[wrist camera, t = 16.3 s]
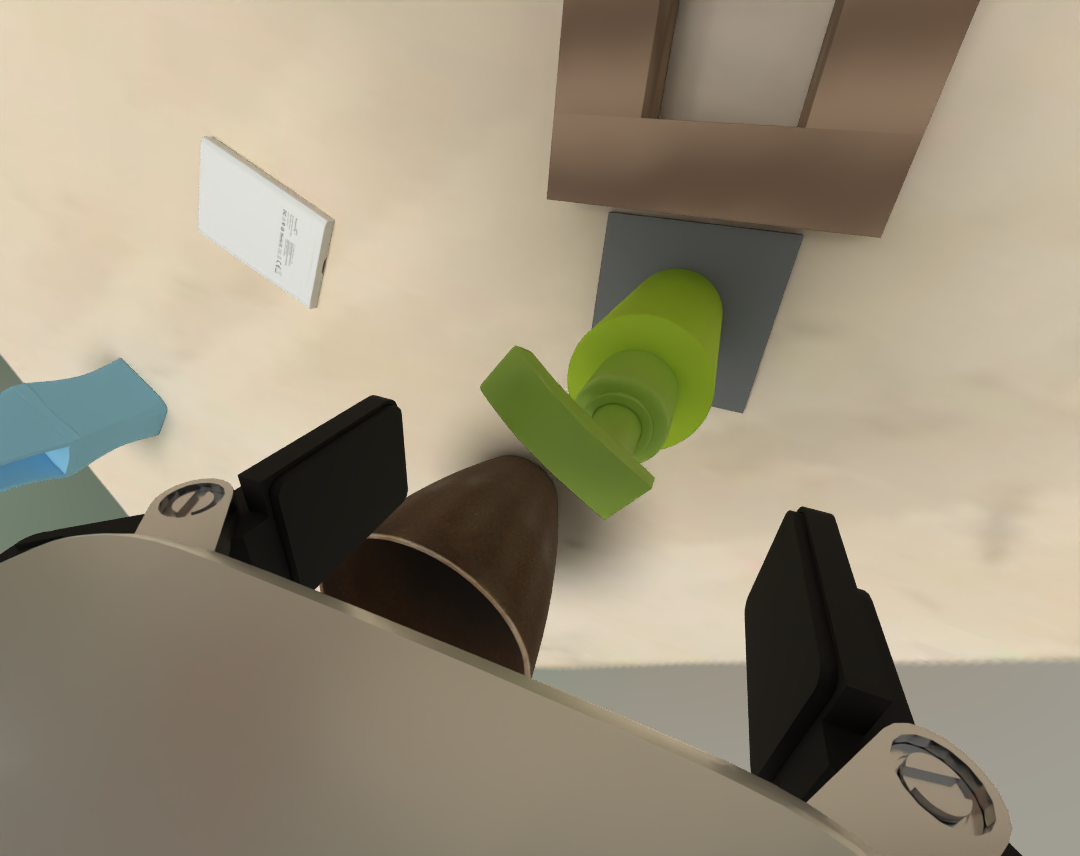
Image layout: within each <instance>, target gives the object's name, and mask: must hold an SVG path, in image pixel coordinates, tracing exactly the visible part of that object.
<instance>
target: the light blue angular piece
mask: <svg viewBox="0 0 1080 856" xmlns="http://www.w3.org/2000/svg"><path fill="white" fill-rule="evenodd" d="M166 413H167V407H166V405H165V403H164V402H163V400H162V399H161V398H160V397H159V396H158V395H157V394H156V393H155V392H154V391H153V390H152V389H151V388H150V387H149V386H148V385H147V384H146V383H145V382H144V381H143V380H142V379H141V378H140V377H139V376H138V375H137V374H136V373H135V372H134V371H133V370H132V369H131V368H130V367H129V366H128V365H127V364H126V363H125V362H124V361H123V360H122V359H121V358H119V359H118V360H116V361H114V362H112V363H110V364H108V365H106V366H104V367H102V368H100V369H98V370H96V371H93V372H91V373H88V374H85V375H82V376H78V377H73V378H69V379H63V380H56V381H46V382H34V383H23V384H19V385H15V386H12V387H10V388H8V389H7V390H5V391H3V392H2V393H0V493H1V492H3V491H7V490H9V489H13V488H15V487H19V486H23V485H27V484H31V483H36V482H42V481H48V480H54V479H62V478H66V477H69V476H71V475H74V474H76V473H77V472H79V471H80V470H81V469H83V468H84V467H86V466H87V465H89V464H90V463H92V462H93V461H95V460H96V459H98V458H100V457H101V456H103V455H105V454H106V453H108V452H110V451H112V450H114V449H116V448H118V447H120V446H122V445H125V444H127V443H130V442H134V441H137V440H140V439H144V438H148V437H152V436H156V435H158V434H159V432H160V430H161V427H162V424H163V421H164V418H165V416H166Z"/></svg>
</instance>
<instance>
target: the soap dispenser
mask: <svg viewBox="0 0 1080 856" xmlns="http://www.w3.org/2000/svg"><path fill="white" fill-rule="evenodd" d="M722 315H723V311H722V303H721V299H720V296H719V294H718V292H717V290H716V289H715V287H714V286H713V285H712V283H711V282H710V281H709V280H707V279H706V278H705V277H704V276H702V275H700V274H699V273H696V272H694V271H691V270H687V269H679V268H675V269H667V270H663V271H660V272H658V273H655V274H653V275H652V276H650V277H648V278H647V279H646V280H645V281H643V282H642V283H641V284H640V285H639V286H638V287H637V288H636V289H635V290H634V291H633V292H631V293H630V294H629V295H628V296H627V297H626V298H625V299H624V300H623V301H622V302H621V303H620V304H618V305H617V306H616V307H615V308H614V309H613V310H612V311H611V312H610V313H609V314H608V315H607V316H605V317H604V318H603V319H602V320H601V321H600V322H599V323H598V324H597V325H596V326H595V327H593V328H592V329H591V330H590V331H589V332H588V333H587V334H586V335H585V336H584V337H583V338H582V340H581V341H580V342H579V344H578V345H577V347H576V349H575V351H574V353H573V355H572V357H571V360H570V364H569V368H568V379H567V380H568V391H569V395H568V394H567V393H566V392H565V391H564V389H563V388H562V387H561V386H560V385H559V384H558V383H557V382H556V381H555V380H554V378H553V377H552V376H551V375H550V374H549V373H548V371H547V370H546V369H545V368H544V367H543V365H542V364H541V363H540V362H539V360H538V359H537V358H536V357H535V356H534V354H533V353H532V352H531V351H529V350H526V349H524V348H522V347H519V346H514V347H513V348H512V349H511V351H510V352H509V353H508V354H507V355H506V356H505V357H504V359H503V360H502V361H501V362H500V363H499V364H498V365H497V367H496V368H495V369H494V370H493V371H492V372H491V374H490V375H489V376H488V377H487V378H486V380H485V381H484V382H483V383H482V384H481V386H480V389H481V391H482V392H483V394H484V396H485V397H486V398H487V400H488V401H489V403H490V404H491V405H492V407H493V408H494V409H495V411H496V412H497V413H498V415H499V416H500V417H501V418H502V420H503V421H504V422H505V424H506V425H507V426H508V427H509V428H510V430H511V431H512V432H513V433H514V434H515V436H516V437H517V438H518V439H519V440H520V441H521V442H522V444H523V445H524V446H525V447H526V448H527V449H528V450H529V451H530V452H531V453H532V454H533V455H534V456H535V457H536V458H537V459H538V460H539V461H540V462H541V463H542V464H543V465H544V466H545V467H546V468H547V469H548V470H549V471H550V472H551V473H552V474H553V475H554V476H555V477H556V478H557V479H559V480H560V481H561V482H562V483H563V484H564V485H565V486H566V487H567V488H568V489H570V490H571V491H572V492H573V493H574V494H575V495H576V496H577V497H579V498H580V499H581V500H582V501H583V502H584V503H585V504H587V505H588V506H589V507H590V508H591V509H592V510H593V511H595V512H596V513H597V514H598V515H599V516H600V517H601V518H603V519H604V520H605V519H607V518H608V517H610V516H611V515H613V514H614V513H616V512H617V511H619V510H620V509H622V508H623V507H625V506H626V505H628V504H629V503H631V502H632V501H634V500H635V499H637V498H638V497H640V496H641V495H643V494H644V493H646V492H647V491H649V490H650V489H651V488H652V486H653V482H654V477H653V476H652V475H651V474H650V473H649V472H648V471H647V470H646V469H645V468H644V467H643V466H642V465H641V464H640V463H642V462H645V461H647V460H649V459H650V458H652V457H653V456H654V455H655V454H656V453H657V452H658V451H659V450H661V449H665V448H668V447H671V446H673V445H676V444H678V443H679V442H681V441H683V440H685V439H686V438H687V437H689V436H690V435H691V434H692V433H694V432H695V431H696V430H697V429H698V427H699V426H700V425H701V424H702V422H703V421H704V419H705V418H706V416H707V414H708V412H709V410H710V407H711V405H712V401H713V397H714V390H715V380H716V371H717V362H718V353H719V343H720V334H721V325H722Z"/></svg>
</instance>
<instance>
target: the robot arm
mask: <svg viewBox="0 0 1080 856" xmlns="http://www.w3.org/2000/svg"><path fill="white" fill-rule="evenodd" d="M238 478H239V481H240V484H241V487H239V488H237V489H236V490H234V489H233V487H232V486H231V484H230V483H228V482H226V481H224V480H220V479H213V478H211V479H198V480H193V481H188V482H185V483H182V484H179V485H176V486H174V487H172V488H170V489H168V490H166V491H164V492H163V493H162V494H160V495H159V496H158V497H156V498H155V499H154V501H153V502H152V503H151V504H150V506H149V508H148V510H147V511H146V513H145V514H142V515H136V516H130V517H125V518H119V519H114V520H108V521H103V522H97V523H91V524H86V525H80V526H75V527H69V528H64V529H58V530H54V531H48V532H42V533H38V534H34V535H32V536H29V537H27V538H25V539H23V540H21V541H19V542H18V543H16V544H15V545H14V546H12V547H10V548H9V549H8V550H6V551H4V552H3V553H2V554H0V856H1022V855H1021V854H1020V853H1019V852H1018V851H1017V850H1016V849H1015V848H1014V847H1013V846H1012V845H1011V844H1010V843H1009V840H1010V836H1011V832H1012V825H1011V821H1010V816H1009V811H1008V809H1007V807H1006V805H1005V803H1004V801H1003V799H1002V797H1001V795H1000V793H999V791H998V790H997V788H996V787H995V786H994V784H993V783H992V782H991V780H990V779H989V778H988V776H987V775H986V774H985V773H984V771H983V770H982V769H981V768H980V767H979V766H978V765H977V764H976V763H975V762H974V761H973V760H972V759H971V758H970V757H969V756H968V755H967V754H965V753H964V752H963V751H962V750H961V749H959V748H958V747H956V746H955V745H954V744H952V743H951V742H950V741H948V740H947V739H945V738H944V737H942V736H940V735H938V734H936V733H934V732H932V731H930V730H928V729H926V728H923V727H920V726H917V725H915V724H914V721H913V718H912V715H911V712H910V709H909V706H908V703H907V700H906V697H905V694H904V692H903V689H902V686H901V683H900V680H899V677H898V674H897V672H896V668H895V665H894V662H893V660H892V657H891V654H890V651H889V648H888V645H887V642H886V639H885V636H884V633H883V631H882V628H881V625H880V622H879V619H878V616H877V613H876V610H875V607H874V604H873V601H872V599H871V597H870V595H869V594H868V593H867V592H866V591H864V590H861V589H858V588H857V586H856V583H855V580H854V577H853V573H852V570H851V567H850V564H849V561H848V558H847V555H846V551H845V548H844V545H843V542H842V539H841V536H840V533H839V529H838V526H837V523H836V520H835V517H834V516H833V515H832V514H830V513H826V512H822V511H818V510H814V509H810V508H807V507H803V506H802V507H800V508H799V509H798V510H797V512H794V511H791V510H789V511H788V512H787V513H786V515H785V517H784V519H783V521H782V523H781V526H780V528H779V530H778V532H777V534H776V537H775V539H774V541H773V543H772V545H771V547H770V550H769V552H768V554H767V556H766V558H765V561H764V563H763V565H762V567H761V569H760V572H759V574H758V576H757V578H756V580H755V583H754V585H753V587H752V589H751V591H750V593H749V596H748V598H747V601H746V606H745V638H746V664H747V690H748V715H749V716H748V717H749V741H750V742H749V743H750V767H751V773H750V772H747V771H746V770H743V769H741V768H739V767H737V766H735V765H733V764H731V763H729V762H727V761H725V760H723V759H721V758H718V757H716V756H714V755H712V754H709V753H707V752H705V751H702V750H700V749H698V748H695V747H693V746H691V745H689V744H686V743H684V742H682V741H679V740H677V739H674V738H672V737H670V736H667V735H665V734H663V733H661V732H658V731H656V730H654V729H652V728H649V727H647V726H645V725H642V724H640V723H638V722H635V721H633V720H630V719H628V718H626V717H624V716H621V715H619V714H616V713H614V712H611V711H609V710H607V709H604V708H602V707H600V706H597V705H595V704H592V703H590V702H587V701H585V700H582V699H580V698H578V697H575V696H573V695H571V694H568V693H565V692H563V691H561V690H558V689H556V688H554V687H551V686H549V685H546V684H544V683H542V682H539V681H537V680H534V679H532V678H529V677H527V676H525V675H522V674H520V673H517V672H515V671H513V670H510V669H508V668H505V667H503V666H500V665H498V664H496V663H493V662H491V661H488V660H486V659H483V658H481V657H478V656H476V655H474V654H471V653H469V652H466V651H464V650H461V649H459V648H456V647H454V646H452V645H449V644H447V643H444V642H442V641H439V640H437V639H434V638H432V637H430V636H427V635H425V634H422V633H420V632H417V631H415V630H412V629H410V628H407V627H405V626H402V625H400V624H398V623H395V622H393V621H390V620H388V619H385V618H383V617H380V616H378V615H375V614H373V613H370V612H368V611H366V610H363V609H361V608H358V607H356V606H353V605H351V604H348V603H346V602H343V601H341V600H338V599H336V598H333V597H331V596H328V595H326V594H323V593H321V592H318V591H316V590H315V589H316V588H317V587H318V586H319V585H320V584H321V583H322V582H323V581H324V580H325V579H326V578H327V577H328V576H329V575H330V574H331V573H332V572H333V571H334V570H335V569H336V568H337V567H338V566H339V565H340V564H341V563H342V562H343V561H344V560H345V559H346V558H347V557H348V556H349V555H350V554H351V553H352V552H353V551H354V550H355V549H356V548H357V547H358V546H359V545H360V544H361V543H362V542H363V541H364V540H365V539H366V538H367V537H369V536H370V535H371V534H372V533H373V532H374V531H375V530H376V529H377V528H378V527H379V526H380V525H381V524H382V523H383V522H384V521H385V520H386V519H387V518H388V517H389V516H390V515H391V514H392V513H393V512H394V511H395V510H396V509H397V508H398V507H399V506H400V505H401V504H402V503H403V502H404V500H405V498H406V496H407V492H408V485H407V473H406V461H405V448H404V436H403V424H402V413H401V410H400V408H399V407H397V404H396V402H395V401H393V400H391V399H387V398H383V397H379V396H375V395H372V396H369V397H367V398H366V399H364V400H362V401H361V402H359V403H357V404H356V405H354V406H352V407H351V408H349V409H347V410H346V411H344V412H342V413H341V414H339V415H337V416H336V417H334V418H332V419H331V420H329V421H327V422H326V423H324V424H322V425H321V426H319V427H317V428H316V429H314V430H312V431H311V432H309V433H307V434H306V435H304V436H302V437H300V438H299V439H297V440H295V441H294V442H292V443H290V444H289V445H287V446H285V447H284V448H282V449H280V450H279V451H277V452H275V453H274V454H272V455H270V456H269V457H267V458H265V459H264V460H262V461H260V462H259V463H257V464H255V465H254V466H252V467H250V468H249V469H247V470H245V471H244V472H242V473H240V474H239V475H238Z"/></svg>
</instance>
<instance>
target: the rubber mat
mask: <svg viewBox="0 0 1080 856" xmlns="http://www.w3.org/2000/svg"><path fill="white" fill-rule="evenodd" d="M802 238H803V235H801V234H793V233H784V232H776V231H767V230H759V229H751V228H742V227H734V226H725V225H717V224H708V223H700V222H692V221H683V220H675V219H666V218H658V217H650V216H641V215H633V214H624V213H616V212H609V214H608V221H607V228H606V235H605V242H604V248H603V255H602V262H601V269H600V276H599V283H598V290H597V296H596V303H595V310H594V317H593V324H592V328H593V327H595V326H596V325H597V324H598V323H599V322H600V321H601V320H602V319H603V318H604V317H605V316H607V315H608V314H609V313H610V312H611V311H612V310H613V309H614V308H615V307H616V306H617V305H618V304H620V303H621V302H622V301H623V300H624V299H625V298H626V297H627V296H628V295H629V294H630V293H631V292H633V291H634V290H635V289H636V288H637V287H638V286H639V285H640V284H641V283H642V282H643V281H645V280H646V279H647V278H648V277H650V276H652V275H653V274H655V273H658V272H660V271H663V270H667V269H675V268H679V269H687V270H691V271H694V272H696V273H699V274H700V275H702V276H704V277H705V278H706V279H707V280H709V281H710V282H711V283H712V285H713V286H714V287H715V289H716V290H717V292H718V294H719V296H720V299H721V303H722V311H723V315H722V325H721V334H720V343H719V353H718V362H717V371H716V380H715V390H714V397H713V401H712V405H711V406H713V407H717V408H721V409H726V410H730V411H735V412H739V413H743V411H744V408H745V405H746V402H747V399H748V397H749V394H750V391H751V388H752V385H753V382H754V379H755V376H756V373H757V370H758V367H759V364H760V361H761V358H762V356H763V353H764V350H765V347H766V344H767V341H768V338H769V335H770V332H771V329H772V326H773V323H774V320H775V317H776V315H777V312H778V309H779V306H780V303H781V300H782V297H783V294H784V291H785V288H786V285H787V282H788V279H789V276H790V274H791V271H792V268H793V265H794V262H795V259H796V256H797V253H798V250H799V247H800V244H801V241H802Z"/></svg>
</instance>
